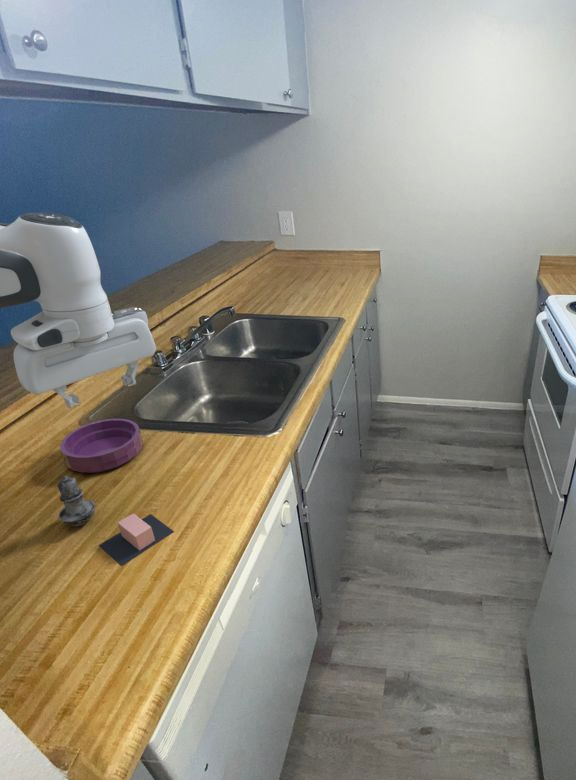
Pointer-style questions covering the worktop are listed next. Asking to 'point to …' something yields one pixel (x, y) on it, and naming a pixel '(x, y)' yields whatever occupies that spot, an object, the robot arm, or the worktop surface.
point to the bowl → (101, 445)
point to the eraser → (136, 531)
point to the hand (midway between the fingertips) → (103, 395)
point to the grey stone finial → (74, 503)
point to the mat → (125, 550)
